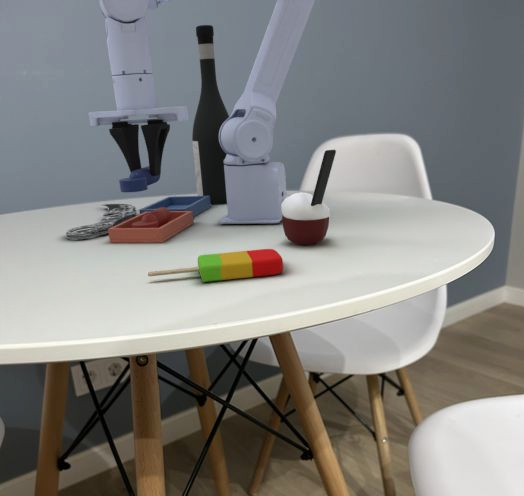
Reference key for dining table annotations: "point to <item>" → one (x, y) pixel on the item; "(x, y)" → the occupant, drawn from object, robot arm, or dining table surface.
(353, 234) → the dining table surface
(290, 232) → the cocoa
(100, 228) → the marbled grey crescent
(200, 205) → the blue tray
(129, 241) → the red tray
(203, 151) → the wine bottle
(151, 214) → the red lobed piece
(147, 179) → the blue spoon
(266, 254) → the popsicle
